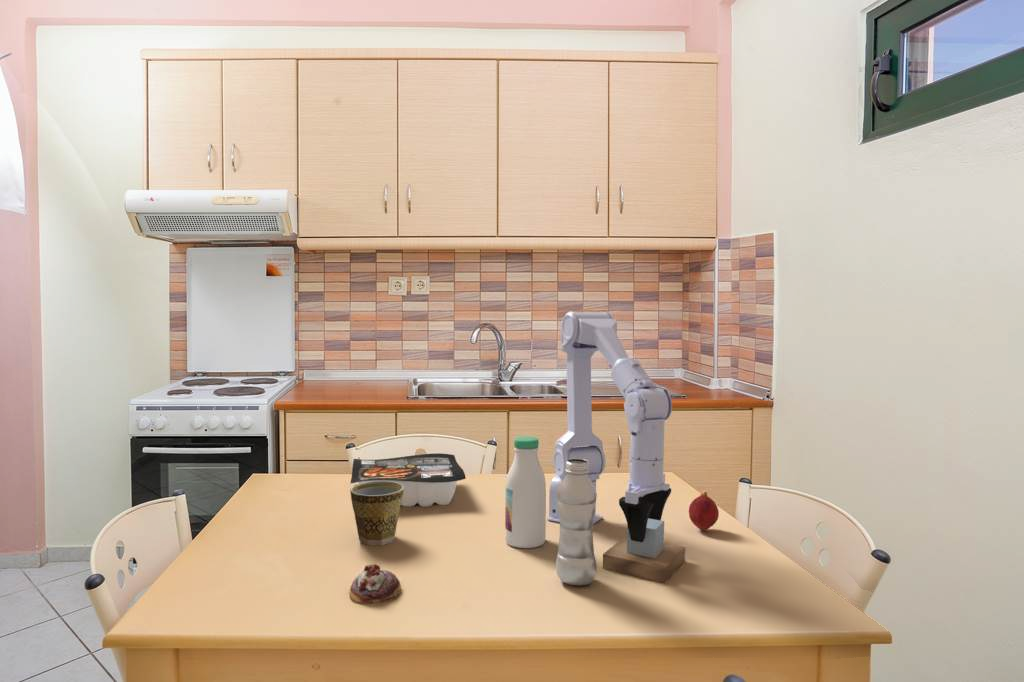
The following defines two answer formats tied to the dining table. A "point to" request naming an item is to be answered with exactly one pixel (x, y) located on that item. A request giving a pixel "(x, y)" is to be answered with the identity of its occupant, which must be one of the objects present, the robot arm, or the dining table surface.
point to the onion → (703, 512)
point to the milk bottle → (525, 497)
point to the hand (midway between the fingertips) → (645, 534)
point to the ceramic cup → (376, 510)
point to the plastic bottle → (576, 525)
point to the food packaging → (414, 476)
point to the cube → (648, 540)
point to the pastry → (374, 586)
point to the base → (644, 561)
